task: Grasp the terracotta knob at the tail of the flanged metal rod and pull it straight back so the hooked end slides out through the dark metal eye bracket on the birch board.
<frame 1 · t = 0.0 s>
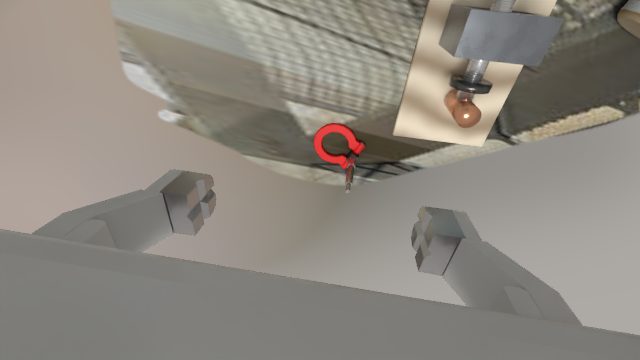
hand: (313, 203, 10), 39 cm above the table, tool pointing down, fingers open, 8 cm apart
tow hook: (337, 143, 53), on the table
eye bracket: (492, 33, 34), on the base board, point 5 cm above the table
base board: (478, 27, 38), on the table
flanged metal rod: (484, 53, 35), point 5 cm above the table, slide at 0.0 cm
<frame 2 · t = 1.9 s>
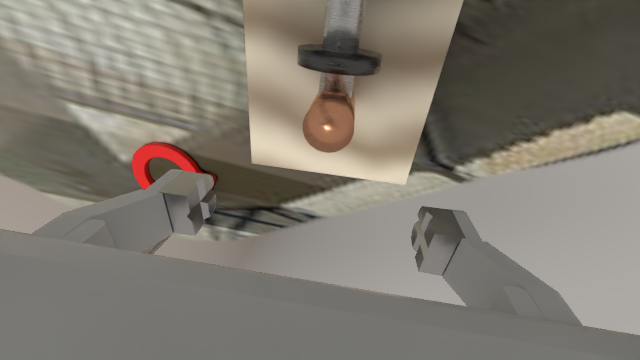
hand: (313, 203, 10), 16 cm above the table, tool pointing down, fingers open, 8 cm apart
tow hook: (176, 175, 32), on the table
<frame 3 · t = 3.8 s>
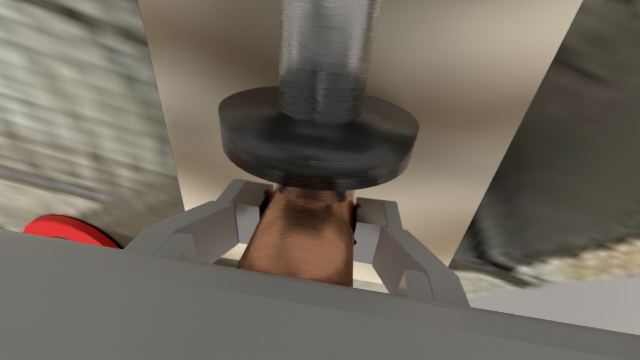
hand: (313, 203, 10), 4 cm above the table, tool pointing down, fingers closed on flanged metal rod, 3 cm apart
tow hook: (93, 255, 22), on the table
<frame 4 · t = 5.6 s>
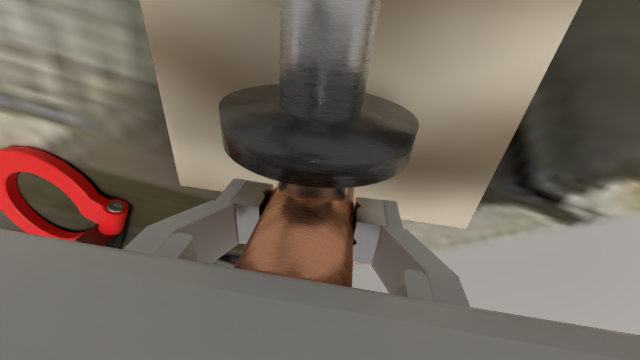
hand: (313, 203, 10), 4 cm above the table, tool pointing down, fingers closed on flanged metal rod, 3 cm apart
tow hook: (67, 201, 19), on the table
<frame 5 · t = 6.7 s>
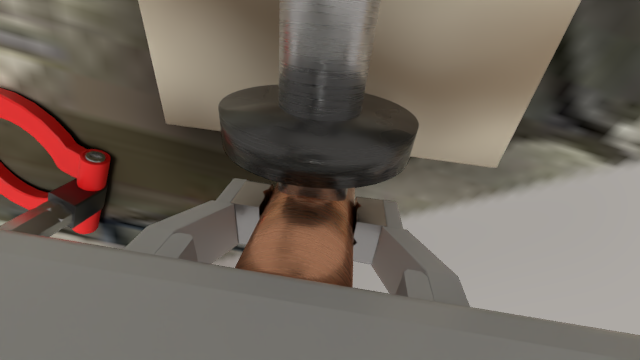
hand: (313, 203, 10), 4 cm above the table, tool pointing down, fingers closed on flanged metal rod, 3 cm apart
tow hook: (43, 156, 17), on the table
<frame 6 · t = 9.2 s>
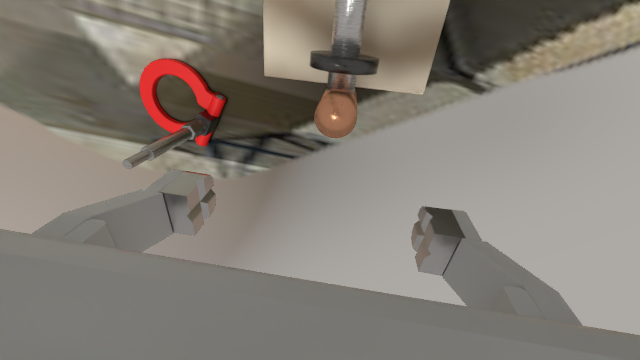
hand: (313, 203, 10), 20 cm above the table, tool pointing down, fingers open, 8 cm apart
tow hook: (184, 100, 31), on the table
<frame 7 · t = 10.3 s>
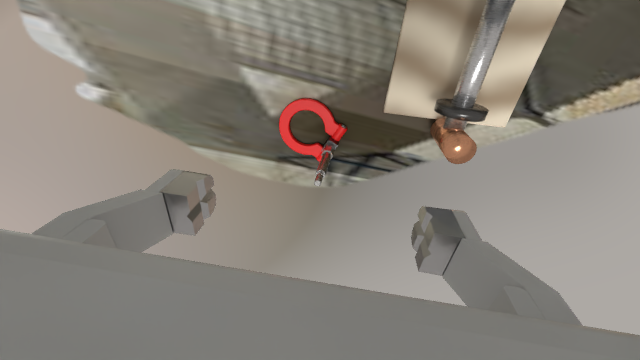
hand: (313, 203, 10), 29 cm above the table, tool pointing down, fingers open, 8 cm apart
tow hook: (310, 127, 40), on the table
flanged metal rod: (476, 71, 28), point 6 cm above the table, slide at 8.9 cm
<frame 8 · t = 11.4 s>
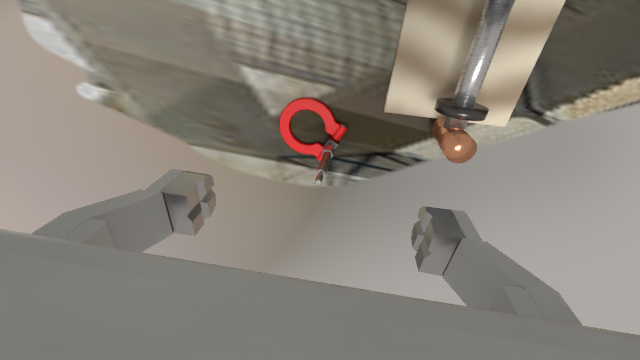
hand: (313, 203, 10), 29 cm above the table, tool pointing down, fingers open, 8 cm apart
tow hook: (310, 127, 40), on the table
flanged metal rod: (476, 71, 28), point 5 cm above the table, slide at 8.9 cm
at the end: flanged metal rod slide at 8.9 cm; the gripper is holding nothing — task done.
